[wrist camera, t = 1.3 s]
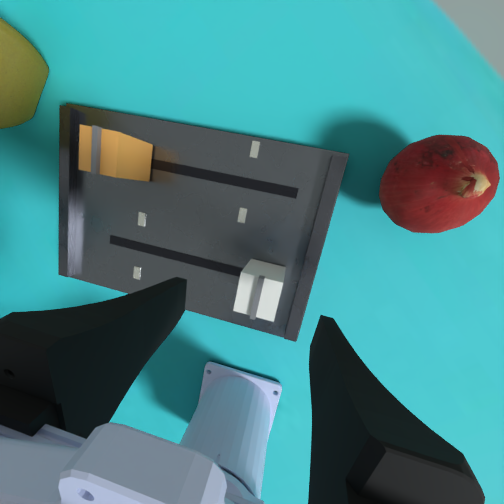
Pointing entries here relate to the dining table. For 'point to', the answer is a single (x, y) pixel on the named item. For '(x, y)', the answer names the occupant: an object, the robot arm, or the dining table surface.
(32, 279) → the dining table surface
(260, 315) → the fader
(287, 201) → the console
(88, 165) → the fader
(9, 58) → the flower pot
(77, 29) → the dining table surface
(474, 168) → the onion
